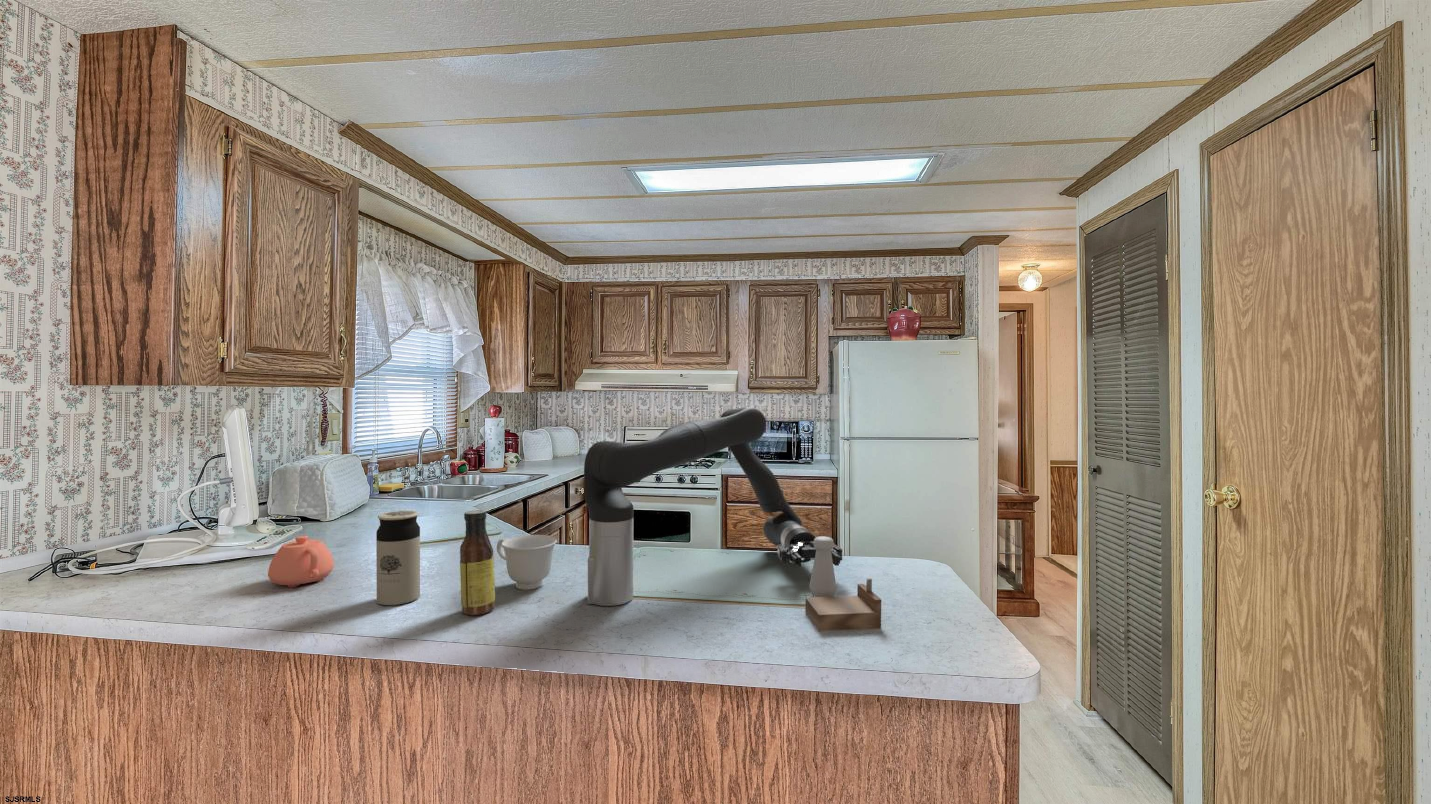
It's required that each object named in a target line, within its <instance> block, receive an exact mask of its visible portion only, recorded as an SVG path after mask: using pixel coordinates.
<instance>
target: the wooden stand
mask: <svg viewBox="0 0 1431 804" xmlns="http://www.w3.org/2000/svg"><path fill="white" fill-rule="evenodd" d="M872 586H873V579H872V578H869V577H868V578H866V583H857V595H841V596H840V595H838V596H837V595H836V596H835V595H834V596H831V597H813V596H812V597H811V596H810V597H809V596H807V597H805V605H804V606H805V607H804V608H805V609H804V610H805V611H804V612H805V614H806V615H807V617H808V618H809V620H810V621H811V622H812V623H813V625H814V626H815V627H816V629H817V630H818V632H821V631H823V632H824V631H828V630H829V631H847V630H848V631H849V630H868V629H869V630H870V629H872V630H873V629H881V628H882V598H881V597H879V596H878V595H877V594H876V593H875V592H873V591H872V589H873V587H872Z"/></svg>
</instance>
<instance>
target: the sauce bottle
mask: <svg viewBox="0 0 1431 804" xmlns="http://www.w3.org/2000/svg"><path fill="white" fill-rule="evenodd" d="M463 516H464V521H465V532H464V533H465V536H464V538H463V541H462V542H461V544H460V548H459V559H460V561H459V571H460V572H459V573H460V602H461V606H462V607H461V611H462V613H463V614H465V615H467V616H479V615H480V616H481V615H485V614H487V613H490V612H492V611H493V610H494V608H495V603H496V591H495V590H496V589H495V587H496V585H495V584H496V582H495V561H494V559H495V558H494V557H495V556H494V549H493V545H492V543H491V541H490V538H489V535H488V532H487V527H486V526H487V525H486V522H487V521H486V520H487V511H486V510H485V509H472V510H468V511H465V512H464V515H463Z"/></svg>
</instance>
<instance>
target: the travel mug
mask: <svg viewBox="0 0 1431 804" xmlns="http://www.w3.org/2000/svg"><path fill="white" fill-rule="evenodd" d="M419 514H420V513H419V512H418V511H417V510H409V509H408V510H406V509H405V510H394V511H386V512H382V513H380V514H379V515H377V518H378V520H379V526H378V528H377V529H376V533H375V534H376V535H375V537H376V543H375V544H376V553H375V554H376V555H375V556H376V603H377V604H379V605H382V606H401V605H405V604H409V603H412V602H413V601H416V600H417V599H418V598H419V597H420V596H421V527H420V526H419V523H418V522H417V518H418V516H419Z"/></svg>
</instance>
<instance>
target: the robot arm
mask: <svg viewBox="0 0 1431 804" xmlns="http://www.w3.org/2000/svg"><path fill="white" fill-rule="evenodd" d="M766 429H767V420H766V416H765V415H764V414H763V413H762V411H761V410H759V409H758V408H756V407H751V406H745V407H737V408H731V409H728V410H725V411H724V412H722V413H721V415H720V417H716V418H705V419H703V418H702V419H699V420H698V419H697V420H691V421H687V422H682V423H679V424H676V425H675V424H674V425H673V426H670V427H668V428H666V429H665V430H664V431H662V432H661V433H660V434H659V435H658V436H657V437H654V438H653V439H649V440H643V441H638V442H619V441H618V442H617V441H610V440H609V441H608V440H602V441H597V442H596V443H593V444H592V445H591V446H590V447H589V449H588V450H587V452H586V455H585V459H584V464H583V468H584V469H583V475H584V477H583V479H584V500H585V504H586V507H587V510H588V517H589V518H588V519H589V521H588V525H589V526H588V528H589V529H588V530H589V531H588V533H589V534H588V558H587V604H588V605H596V606H603V607H610V606H611V607H612V606H613V607H614V606H619V605H623V604H626V603H627V604H628V603H629V602H630V601H632V600H633V598H634V514H635V511H634V504H633V503H632V502H631V501H630V499H628V498H627V497H626V494H624V492H623V491H624V490H623V488H625V487H628V486H631V485H633V484H635V483H637V482H639V481H642V480H643V479H645V478H647V477H650V476H651V475H653V474H656V473H658V472H661V471H664V470H667V469H672V468H674V467H679V466H681V465H685V464H688V463H692V462H694V461H697V460H700V459H702V458H705V457H708V456H710V455H712V454H715V453H717V452H720V451H722V450H725V449H726V448H728V449H729V450H730V451H731V454H733V457H734V458H735V460H736V461H737V463H738V465H739V466H740V468H741V469H742V471H743V473H744V474H745V476H746V479H748V482H749V483H750V486H751V488H752V491H753V492H754V495H755V497H756V500H757V502H758V504H759V506H760V508H761V510H762V512H764V513H765V514H766V513H767V514H769V513H771V514H772V513H777V512H781V513H779V514H777V515H774V516H772V517H770V518H768V519H767V520H766V521H765V522H764V524H763V530H762V531H763V534H764V536H765V538H766V540H768V542H770V543H771V544H772V545H774V546H777V556H778V558H779V560H780V561H781V562H782V563H786V562H788V561H789V562H790V563H791V564H793V565H795V566H797V567H799V568H800V567H802V564H803V563H809V562H810V561H812V560H813V561H814V559H815V554H816V549H815V548H814V539H815V538H816V536H815V535H814V533H812V532H810V530H808V529H807V528H806V527H804V526H803V522H802V520H801V518H800V517H799V515H798V514H797V513H796V511H794V509H793V508H792V507H791V506H790V504H789V503H788V502H787V499H786V498H785V496H784V493H783V490H782V487H781V486H780V483H779V482H778V479H777V477H776V476H775V474H774V473H773V472H772V470H771V469H770V468H769V467H768V466H767V465H766V464H765V463H764V462H763V461H762V460H761V459H760V458H759V456H757V454H756V453H755V452H754V451H753V449H752V447H751V445H750V444H749V443H753V442H756V441H758V440H759V439H761V438H762V437H763V435H764V434H765V432H766ZM831 554H832V561H833V566H834V567H838V566H840V564H841V561H843V548H841V547H840V546H838V545H837V544H835V543H834V548H833V549H832V550H831Z"/></svg>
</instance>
